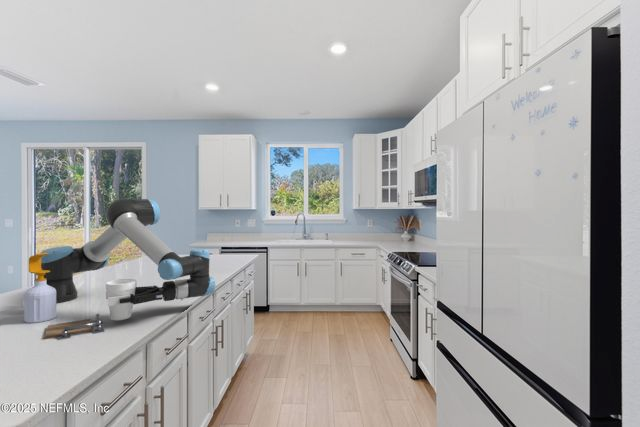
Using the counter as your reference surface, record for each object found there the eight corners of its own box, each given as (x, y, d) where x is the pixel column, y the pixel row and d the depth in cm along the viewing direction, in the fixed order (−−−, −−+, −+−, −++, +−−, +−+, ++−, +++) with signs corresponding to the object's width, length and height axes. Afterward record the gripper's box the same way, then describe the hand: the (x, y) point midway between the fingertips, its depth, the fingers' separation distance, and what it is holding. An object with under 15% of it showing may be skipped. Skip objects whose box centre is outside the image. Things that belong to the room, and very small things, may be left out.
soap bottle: (37, 324, 114) (37, 255, 114) (17, 322, 116) (17, 254, 116) (62, 316, 123) (62, 251, 123) (43, 314, 125) (43, 251, 125)
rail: (60, 327, 111) (60, 318, 111) (102, 320, 118) (102, 312, 118) (58, 339, 101) (58, 329, 101) (104, 331, 108) (104, 322, 108)
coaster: (48, 327, 111) (48, 325, 111) (90, 321, 118) (90, 318, 118) (44, 339, 101) (44, 336, 101) (91, 331, 108) (91, 328, 108)
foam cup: (103, 323, 111) (104, 285, 111) (107, 315, 119) (107, 280, 119) (135, 319, 116) (135, 283, 115) (136, 312, 124) (137, 278, 124)
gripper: (181, 306, 119) (108, 317, 106) (168, 293, 137) (105, 301, 124) (181, 286, 119) (109, 294, 106) (168, 275, 137) (105, 282, 124)
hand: (107, 298), depth 115 cm, fingers closed on foam cup, 9 cm apart
